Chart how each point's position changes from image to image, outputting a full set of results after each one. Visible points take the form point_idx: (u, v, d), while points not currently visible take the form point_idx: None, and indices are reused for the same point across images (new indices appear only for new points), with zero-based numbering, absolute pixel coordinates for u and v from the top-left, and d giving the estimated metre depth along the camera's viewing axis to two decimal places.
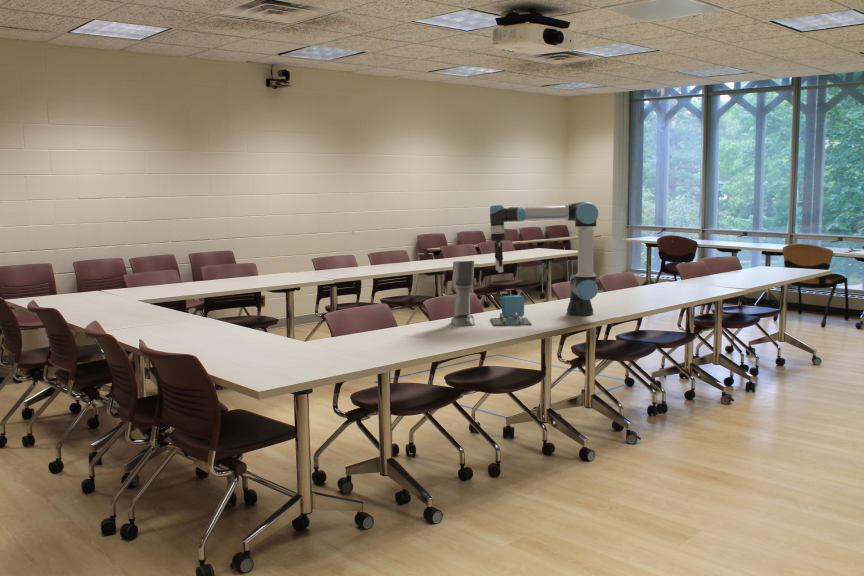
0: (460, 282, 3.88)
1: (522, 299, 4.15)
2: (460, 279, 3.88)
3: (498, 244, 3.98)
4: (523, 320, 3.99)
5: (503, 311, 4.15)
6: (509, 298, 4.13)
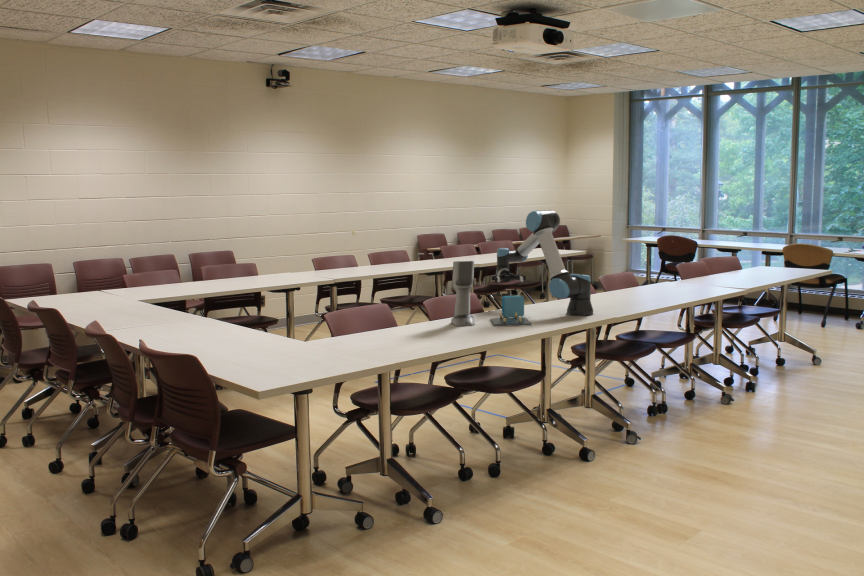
0: (460, 282, 3.88)
1: (522, 299, 4.15)
2: (460, 279, 3.88)
3: None
4: (523, 320, 3.99)
5: (503, 311, 4.15)
6: (509, 298, 4.13)
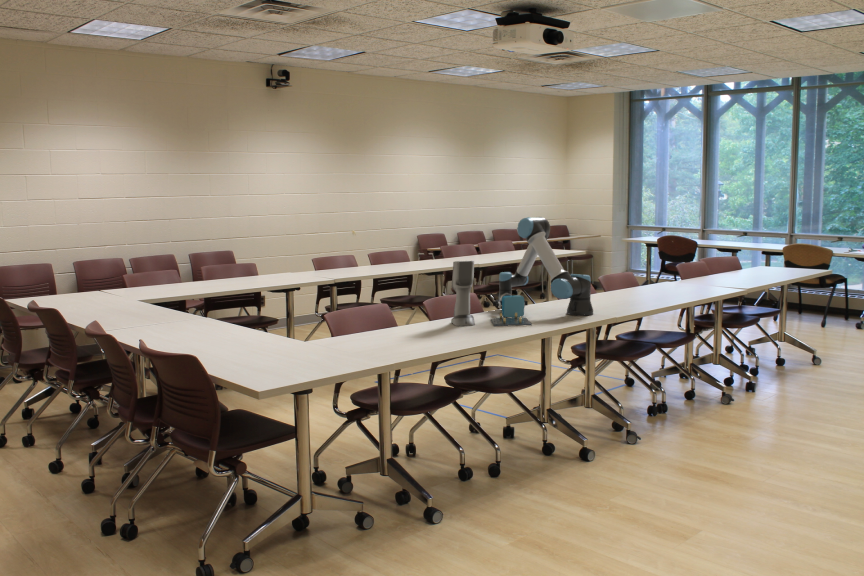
0: (460, 282, 3.88)
1: (522, 299, 4.15)
2: (460, 279, 3.88)
3: None
4: (523, 320, 3.99)
5: (503, 311, 4.15)
6: (509, 298, 4.13)
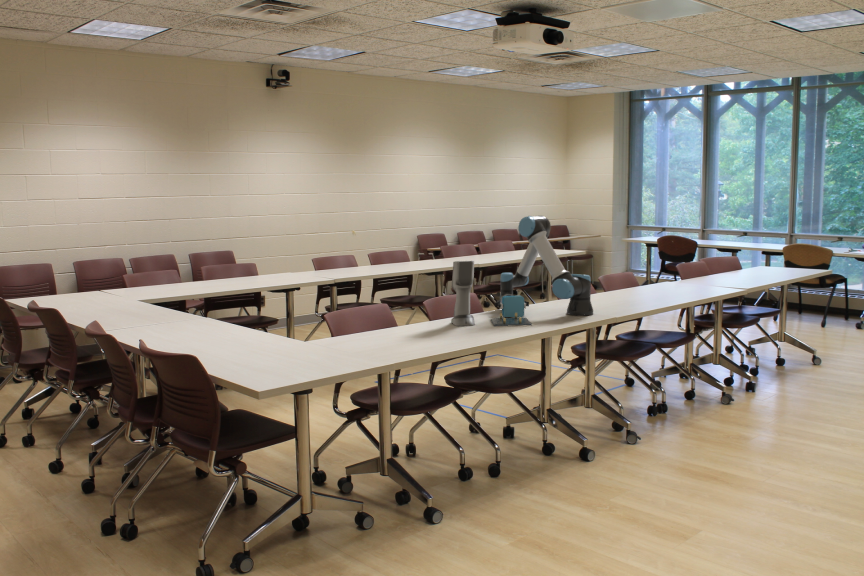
0: (460, 282, 3.88)
1: (522, 299, 4.14)
2: (460, 279, 3.88)
3: None
4: (523, 320, 3.99)
5: (503, 311, 4.15)
6: (508, 298, 4.13)
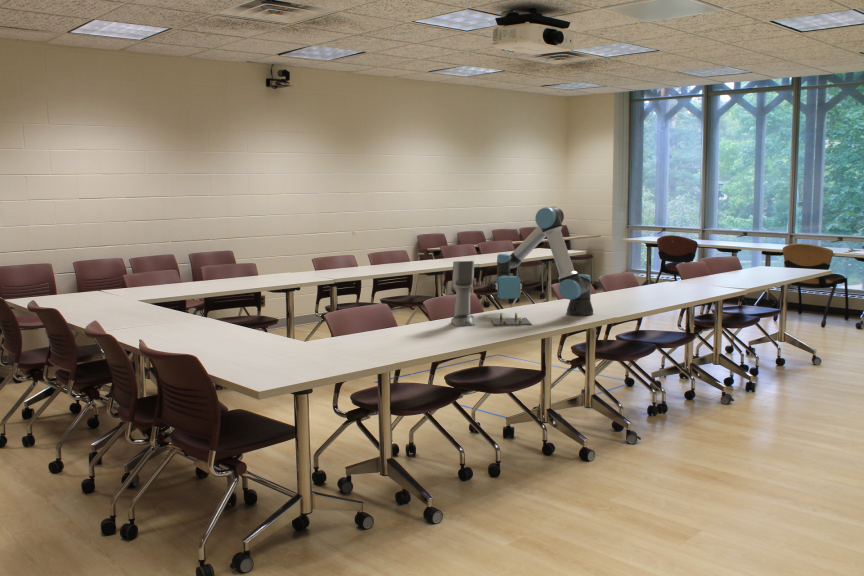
0: (460, 282, 3.88)
1: (518, 280, 4.02)
2: (460, 279, 3.88)
3: None
4: (523, 320, 3.99)
5: (498, 292, 4.03)
6: (504, 278, 4.01)
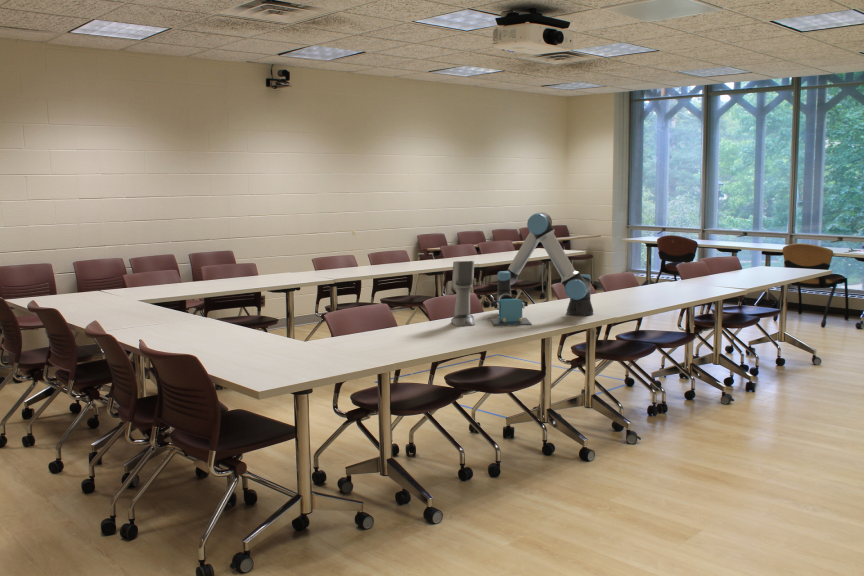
0: (460, 282, 3.88)
1: (520, 303, 3.95)
2: (460, 279, 3.88)
3: None
4: (523, 320, 3.99)
5: (500, 315, 3.96)
6: (506, 301, 3.94)
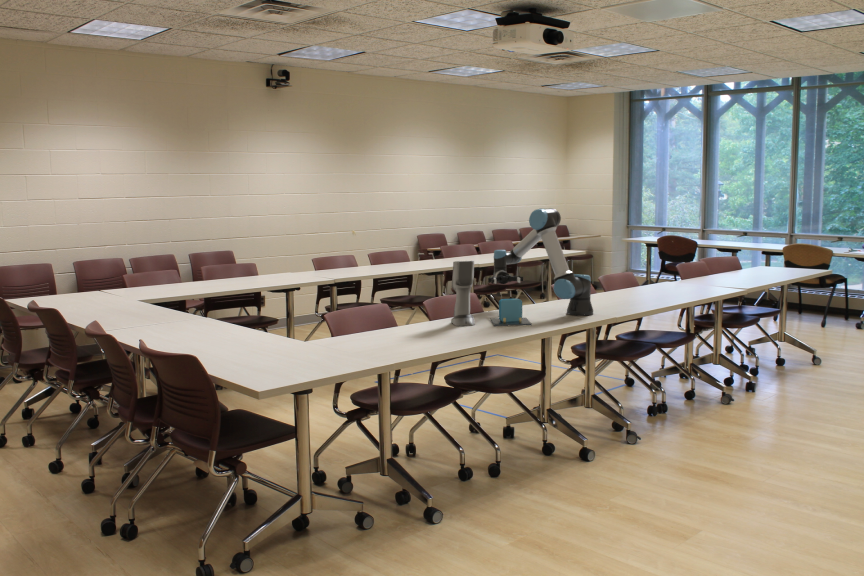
0: (460, 282, 3.88)
1: (520, 303, 3.95)
2: (460, 279, 3.88)
3: None
4: (523, 320, 3.99)
5: (500, 315, 3.96)
6: (506, 301, 3.94)
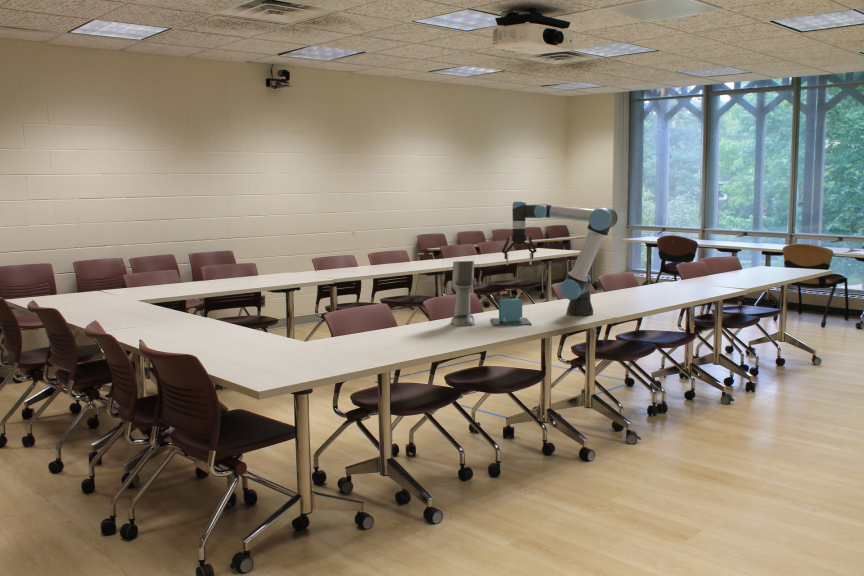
0: (460, 282, 3.88)
1: (520, 303, 3.95)
2: (460, 279, 3.88)
3: (507, 238, 4.23)
4: (523, 320, 3.99)
5: (500, 315, 3.96)
6: (506, 301, 3.94)
